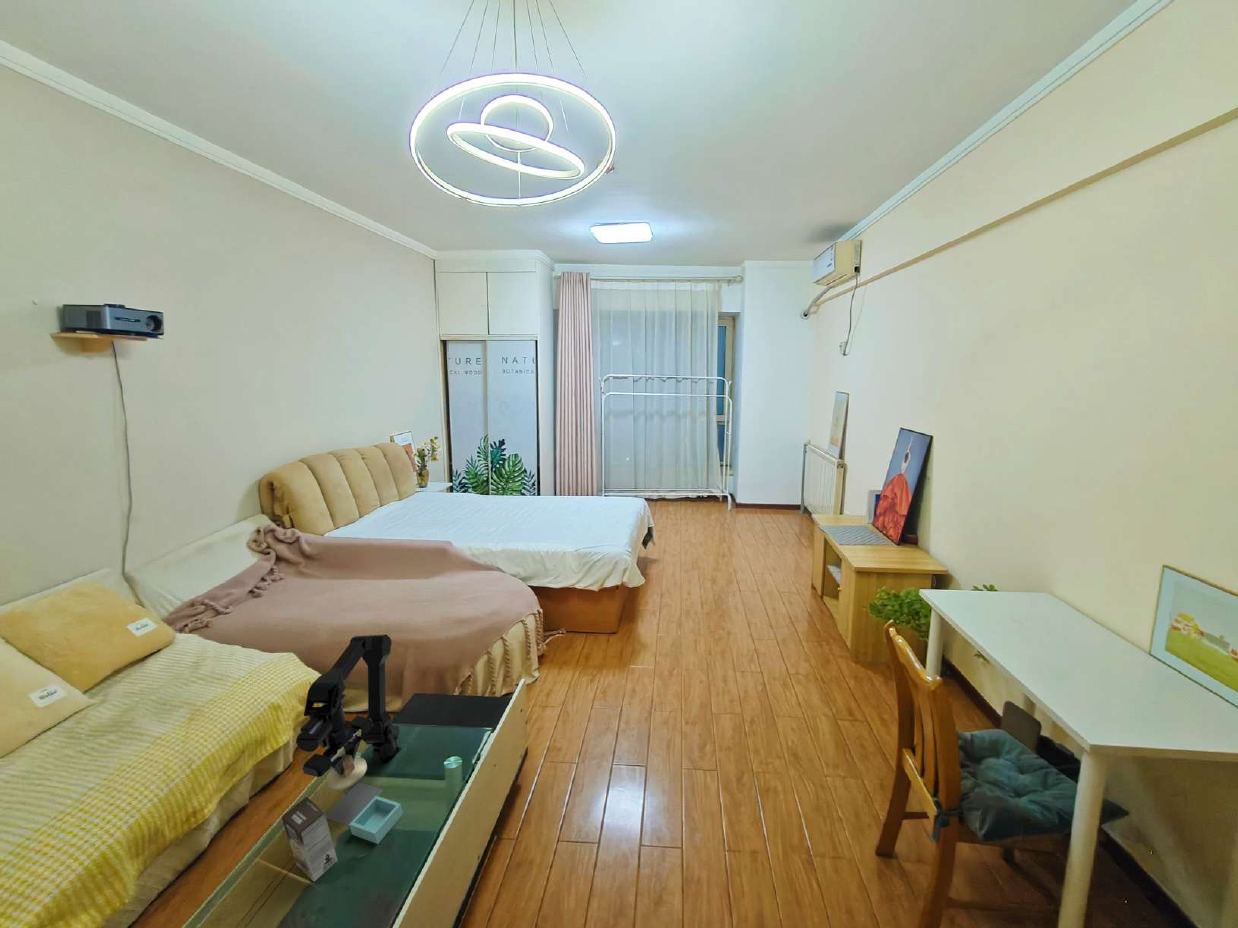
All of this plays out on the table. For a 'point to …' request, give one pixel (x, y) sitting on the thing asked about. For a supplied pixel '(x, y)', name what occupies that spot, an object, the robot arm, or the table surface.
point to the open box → (376, 819)
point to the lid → (347, 773)
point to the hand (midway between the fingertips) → (346, 769)
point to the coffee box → (309, 838)
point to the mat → (353, 803)
